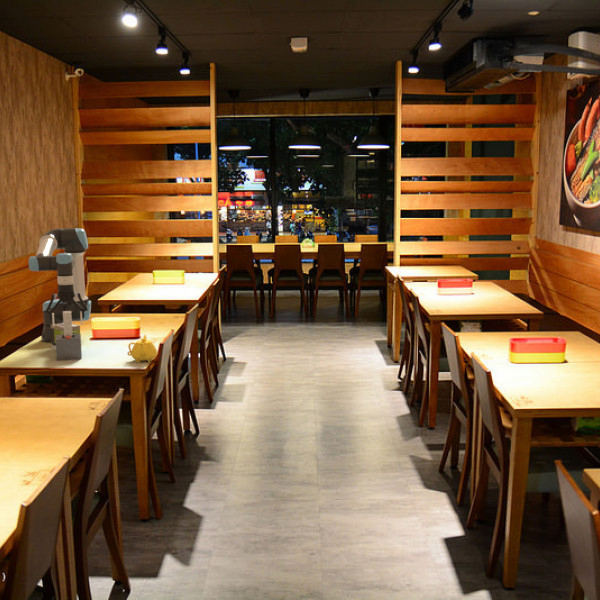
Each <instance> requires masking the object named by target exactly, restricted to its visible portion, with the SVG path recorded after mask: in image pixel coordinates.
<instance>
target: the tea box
mask: <svg viewBox="0 0 600 600" xmlns="http://www.w3.org/2000/svg"><path fill="white" fill-rule="evenodd" d="M54 325H55V326H54V327H53V324H51V342H50V343H51V350H52V351H56V335H64V325H63V323H58V324H54ZM72 334H81V326H80V325H79V324H76V323H75V324H74V323H72Z"/></svg>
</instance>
